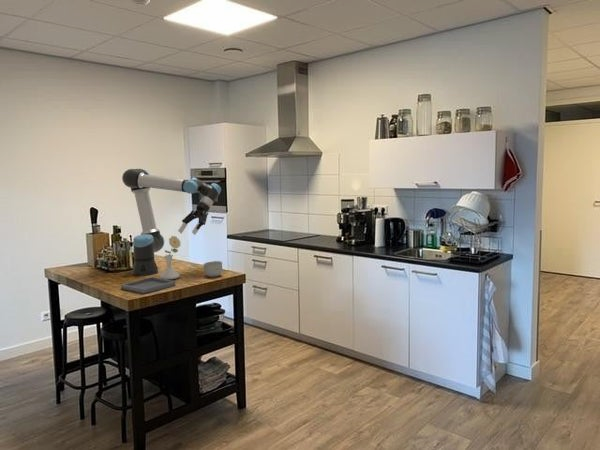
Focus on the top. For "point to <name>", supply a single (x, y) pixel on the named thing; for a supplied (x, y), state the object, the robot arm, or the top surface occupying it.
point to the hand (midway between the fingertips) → (186, 232)
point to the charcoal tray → (148, 285)
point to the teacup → (213, 268)
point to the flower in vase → (170, 272)
